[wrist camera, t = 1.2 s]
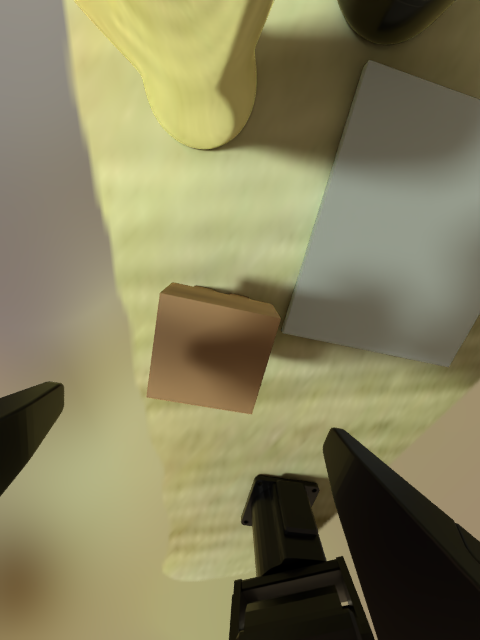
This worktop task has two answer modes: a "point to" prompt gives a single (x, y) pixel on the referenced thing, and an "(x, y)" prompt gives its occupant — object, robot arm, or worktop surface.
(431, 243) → the rubber mat
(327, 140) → the worktop surface
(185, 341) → the walnut stool
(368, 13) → the supplement bottle
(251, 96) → the beer glass
